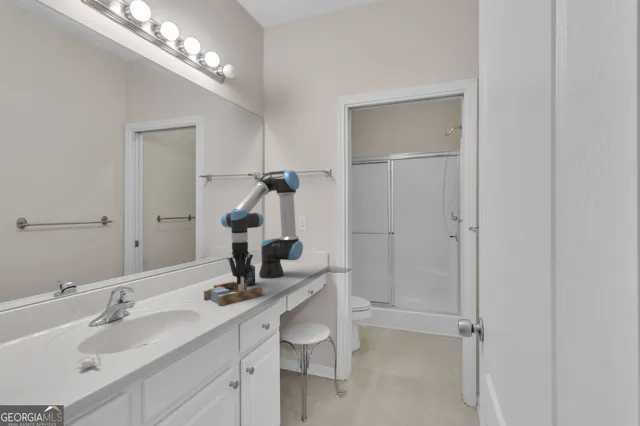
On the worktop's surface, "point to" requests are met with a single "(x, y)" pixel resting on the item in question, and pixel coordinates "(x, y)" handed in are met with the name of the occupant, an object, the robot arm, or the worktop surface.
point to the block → (218, 293)
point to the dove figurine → (91, 359)
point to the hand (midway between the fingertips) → (241, 290)
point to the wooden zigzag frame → (233, 293)
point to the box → (250, 276)
